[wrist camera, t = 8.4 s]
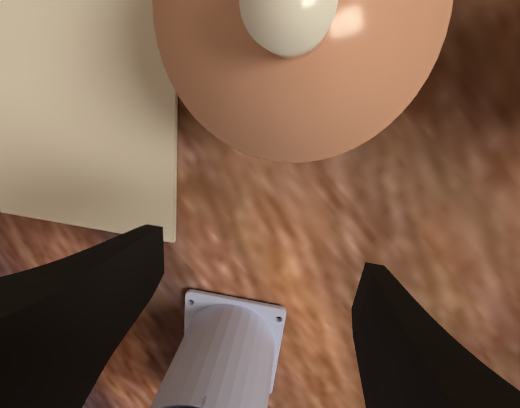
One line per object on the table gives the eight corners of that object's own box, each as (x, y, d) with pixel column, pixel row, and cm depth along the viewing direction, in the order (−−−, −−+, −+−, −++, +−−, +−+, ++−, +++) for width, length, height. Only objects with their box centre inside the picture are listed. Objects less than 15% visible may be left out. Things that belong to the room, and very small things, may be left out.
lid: (397, 176, 13) (427, 212, 9) (160, 140, 14) (112, 160, 10) (498, -161, 9) (610, -300, 6) (159, -182, 10) (82, -314, 6)
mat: (176, 240, 24) (173, 242, 23) (5, 210, 25) (0, 212, 25) (179, -12, 18) (176, -14, 17) (-49, -35, 19) (-56, -38, 18)
